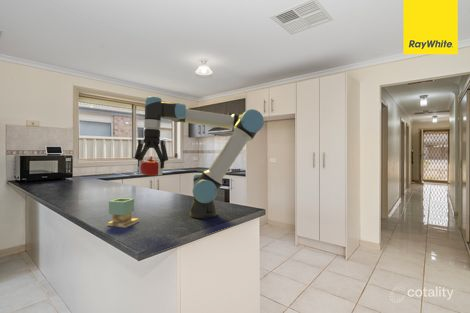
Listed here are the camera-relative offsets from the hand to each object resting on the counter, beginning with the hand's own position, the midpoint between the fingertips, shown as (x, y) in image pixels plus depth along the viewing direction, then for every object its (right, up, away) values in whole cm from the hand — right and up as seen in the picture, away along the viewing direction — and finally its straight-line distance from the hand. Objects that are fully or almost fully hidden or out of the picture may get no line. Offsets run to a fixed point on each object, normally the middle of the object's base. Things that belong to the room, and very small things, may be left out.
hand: (150, 174), depth 121 cm
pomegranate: (0, 0, 0) cm, 1 cm away
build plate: (-13, -24, 0) cm, 28 cm away
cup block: (-14, -19, -1) cm, 23 cm away
